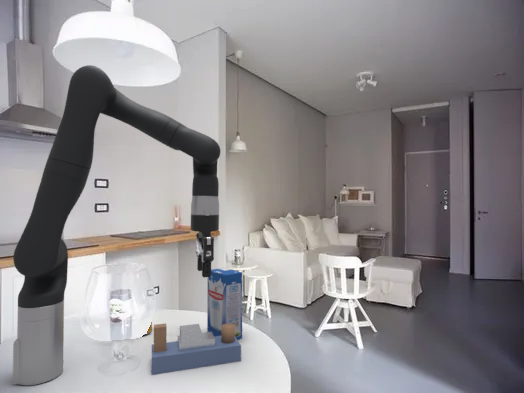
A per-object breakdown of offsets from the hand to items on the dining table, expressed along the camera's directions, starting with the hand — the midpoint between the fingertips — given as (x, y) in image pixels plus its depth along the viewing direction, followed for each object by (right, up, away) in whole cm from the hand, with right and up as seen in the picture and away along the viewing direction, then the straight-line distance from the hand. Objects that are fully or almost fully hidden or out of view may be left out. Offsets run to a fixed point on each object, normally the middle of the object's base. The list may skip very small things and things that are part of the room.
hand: (203, 273), depth 89 cm
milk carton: (+4, -23, +13) cm, 26 cm away
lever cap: (-2, -18, -3) cm, 18 cm away
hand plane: (-2, -22, -3) cm, 22 cm away
